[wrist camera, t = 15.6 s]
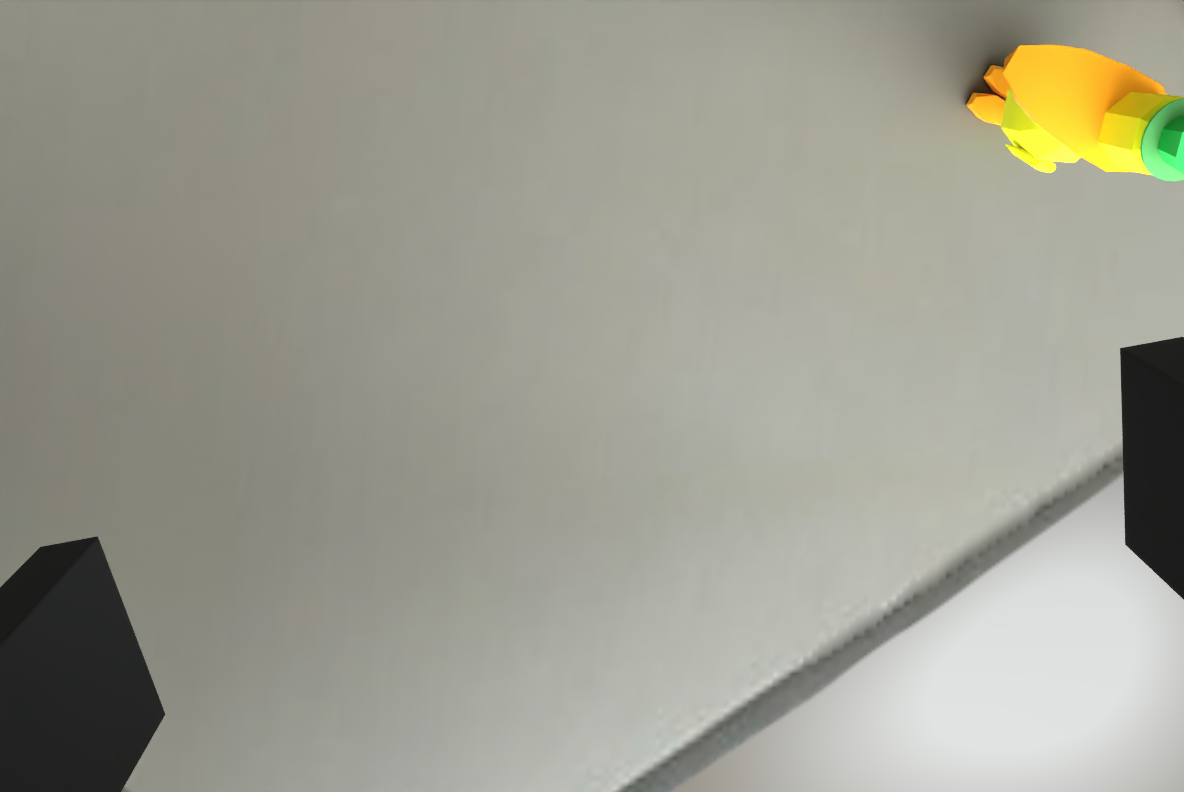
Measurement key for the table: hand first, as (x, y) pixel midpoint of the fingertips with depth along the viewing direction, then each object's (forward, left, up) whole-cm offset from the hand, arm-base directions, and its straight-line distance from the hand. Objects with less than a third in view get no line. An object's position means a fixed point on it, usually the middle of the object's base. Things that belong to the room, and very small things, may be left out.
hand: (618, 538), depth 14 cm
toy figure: (+15, +1, -27) cm, 31 cm away
